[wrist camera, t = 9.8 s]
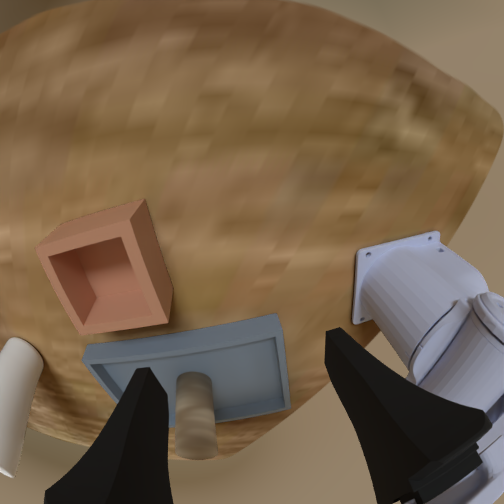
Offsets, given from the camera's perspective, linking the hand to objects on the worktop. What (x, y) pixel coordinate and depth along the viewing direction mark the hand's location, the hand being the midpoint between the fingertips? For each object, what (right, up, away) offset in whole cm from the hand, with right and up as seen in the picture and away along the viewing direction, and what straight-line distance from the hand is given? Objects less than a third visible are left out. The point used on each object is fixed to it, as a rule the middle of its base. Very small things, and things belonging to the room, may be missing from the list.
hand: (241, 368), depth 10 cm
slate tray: (-5, -8, +15) cm, 18 cm away
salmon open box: (-9, +4, +8) cm, 13 cm away
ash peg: (-5, -8, +14) cm, 17 cm away
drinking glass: (-25, -7, +11) cm, 28 cm away
